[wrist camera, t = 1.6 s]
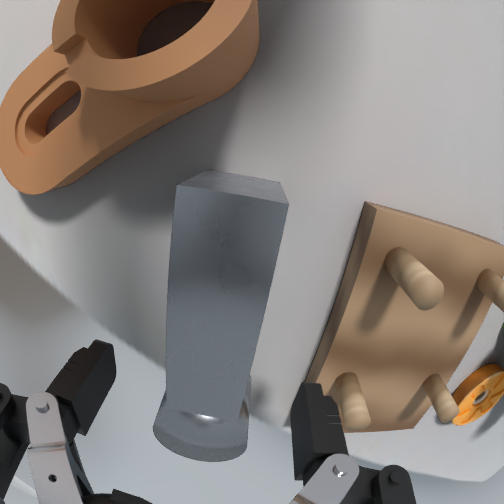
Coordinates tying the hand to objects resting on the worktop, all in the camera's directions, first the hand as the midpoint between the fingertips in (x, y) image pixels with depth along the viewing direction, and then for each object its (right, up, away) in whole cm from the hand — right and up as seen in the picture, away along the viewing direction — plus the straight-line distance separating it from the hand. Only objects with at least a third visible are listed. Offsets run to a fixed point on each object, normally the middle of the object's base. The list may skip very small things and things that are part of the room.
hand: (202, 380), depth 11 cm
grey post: (0, +1, +8) cm, 8 cm away
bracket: (-6, +15, +3) cm, 17 cm away
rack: (+13, -1, +8) cm, 15 cm away
